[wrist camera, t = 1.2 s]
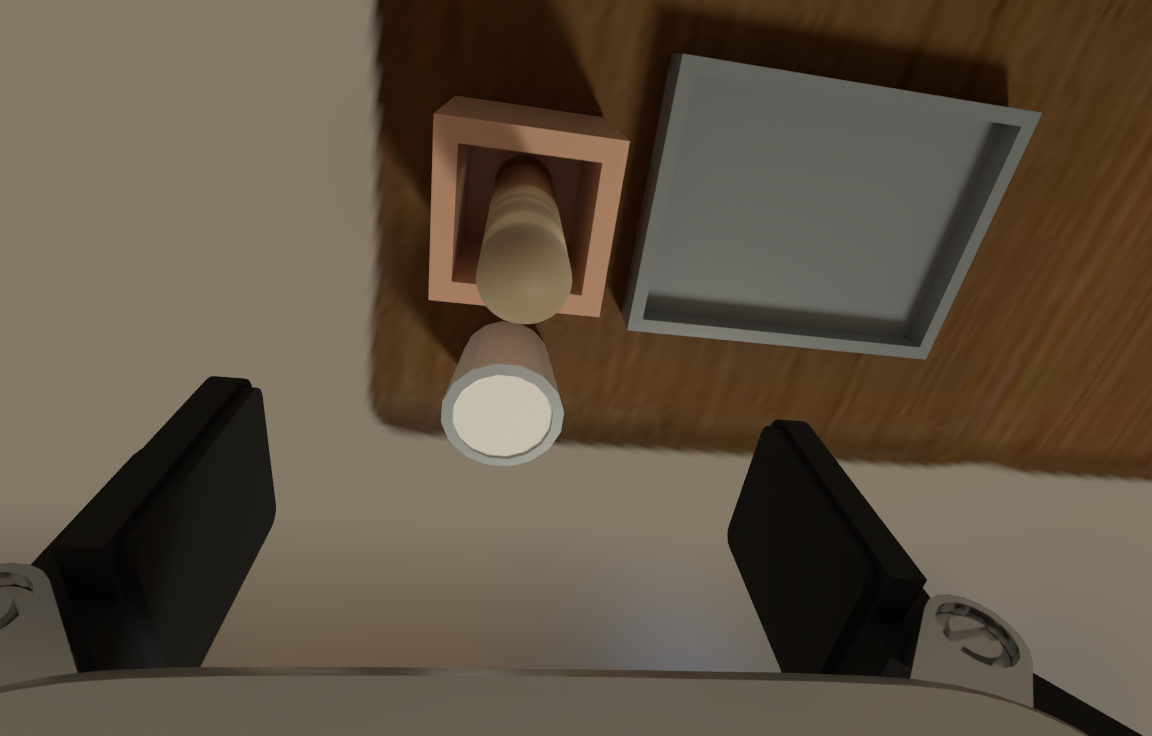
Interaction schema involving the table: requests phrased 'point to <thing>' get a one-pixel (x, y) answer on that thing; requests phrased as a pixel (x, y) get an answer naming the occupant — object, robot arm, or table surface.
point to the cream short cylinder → (503, 397)
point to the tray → (813, 208)
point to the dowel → (523, 246)
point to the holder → (467, 175)
